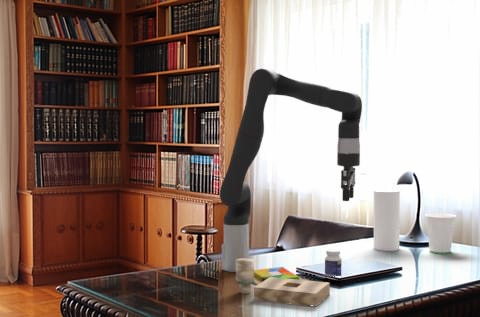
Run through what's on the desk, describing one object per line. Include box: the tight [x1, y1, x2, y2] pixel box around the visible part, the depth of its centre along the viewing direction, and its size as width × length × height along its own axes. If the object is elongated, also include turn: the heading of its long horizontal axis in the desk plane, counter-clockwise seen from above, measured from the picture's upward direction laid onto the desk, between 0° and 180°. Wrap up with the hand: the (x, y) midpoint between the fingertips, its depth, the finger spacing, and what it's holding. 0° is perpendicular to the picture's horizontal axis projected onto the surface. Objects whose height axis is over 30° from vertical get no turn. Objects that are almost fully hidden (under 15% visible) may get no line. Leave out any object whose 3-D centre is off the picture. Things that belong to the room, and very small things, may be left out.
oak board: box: [253, 277, 331, 306], centre depth 201 cm, size 20×14×4 cm
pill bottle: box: [324, 249, 342, 277], centre depth 225 cm, size 6×6×10 cm
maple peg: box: [235, 257, 255, 295], centre depth 208 cm, size 6×6×10 cm
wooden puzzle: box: [253, 266, 310, 286], centre depth 224 cm, size 18×19×4 cm
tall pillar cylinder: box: [373, 188, 401, 252], centre depth 276 cm, size 11×11×25 cm
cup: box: [424, 212, 457, 255], centre depth 268 cm, size 12×12×15 cm
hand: (348, 199), depth 220 cm, fingers open, 8 cm apart
